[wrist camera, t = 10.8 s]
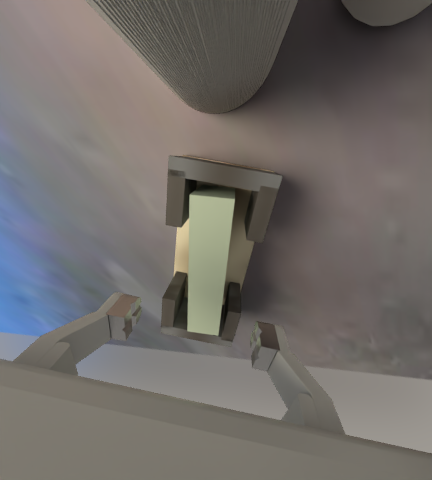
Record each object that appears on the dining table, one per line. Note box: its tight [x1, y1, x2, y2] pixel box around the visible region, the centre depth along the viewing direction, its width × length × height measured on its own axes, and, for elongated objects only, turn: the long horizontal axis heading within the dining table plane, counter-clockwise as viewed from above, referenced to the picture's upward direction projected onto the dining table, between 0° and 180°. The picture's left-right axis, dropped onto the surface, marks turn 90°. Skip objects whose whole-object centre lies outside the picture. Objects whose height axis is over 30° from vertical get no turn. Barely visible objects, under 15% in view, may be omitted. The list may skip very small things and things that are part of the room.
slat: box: [187, 185, 235, 336], centre depth 17 cm, size 3×13×5 cm, turn 175°
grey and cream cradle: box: [161, 155, 283, 347], centre depth 17 cm, size 8×17×5 cm, turn 170°
